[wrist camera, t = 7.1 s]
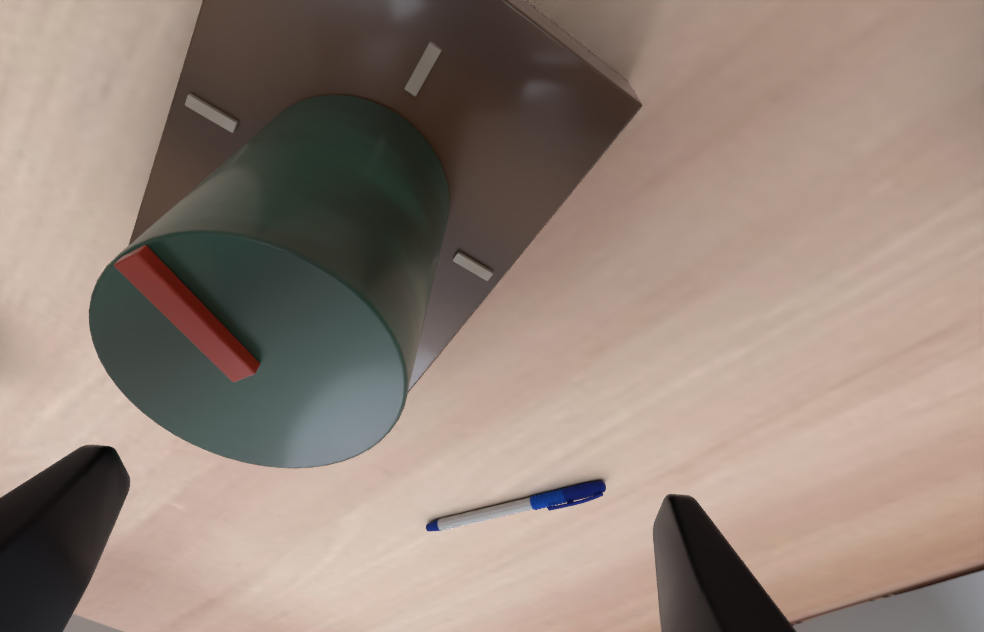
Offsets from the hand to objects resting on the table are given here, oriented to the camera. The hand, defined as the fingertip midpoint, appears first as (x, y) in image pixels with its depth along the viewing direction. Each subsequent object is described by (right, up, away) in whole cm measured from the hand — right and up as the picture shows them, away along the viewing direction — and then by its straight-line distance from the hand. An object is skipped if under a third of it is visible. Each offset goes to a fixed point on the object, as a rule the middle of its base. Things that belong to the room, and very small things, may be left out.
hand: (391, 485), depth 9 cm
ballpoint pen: (+3, -7, +22) cm, 23 cm away
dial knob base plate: (-2, +8, +10) cm, 13 cm away
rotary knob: (-3, +6, +8) cm, 11 cm away
